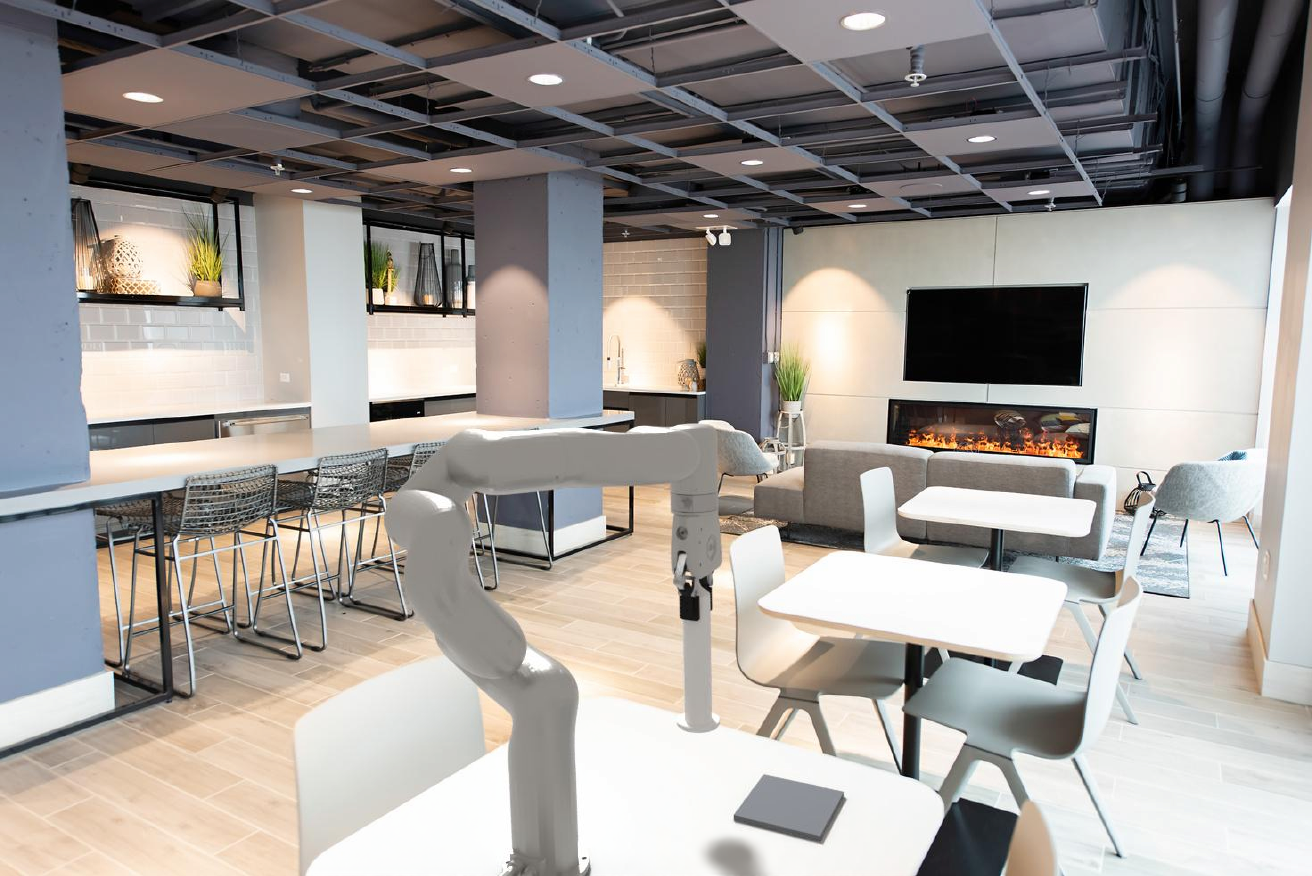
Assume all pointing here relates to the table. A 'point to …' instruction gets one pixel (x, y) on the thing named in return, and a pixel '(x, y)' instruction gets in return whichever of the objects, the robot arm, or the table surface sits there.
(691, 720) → the candle
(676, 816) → the table surface
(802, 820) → the mat
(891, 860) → the table surface
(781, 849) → the table surface
